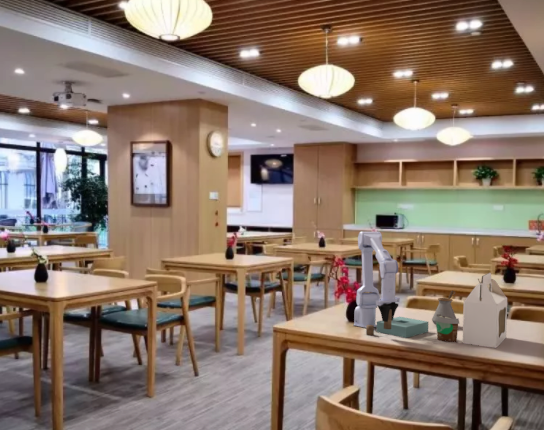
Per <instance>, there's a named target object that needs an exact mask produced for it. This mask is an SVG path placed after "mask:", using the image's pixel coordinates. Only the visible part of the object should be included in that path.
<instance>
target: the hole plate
mask: <svg viewBox="0 0 544 430" xmlns="http://www.w3.org/2000/svg"><path fill="white" fill-rule="evenodd" d="M376 325H377V327H376V332H377V333H381V334H385V335H390V336H395V337H401V338H405V339H407V338H410V337H414V336H418V335H422V334H425V333H428V332H429V321H426V320H421V319H416V318H409V317H404V316H396V317H393V320H392V323H391V329H384V321H383V320H382V319H381V320H378V321H376Z"/></svg>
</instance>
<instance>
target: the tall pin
mask: <svg viewBox="0 0 544 430" xmlns="http://www.w3.org/2000/svg"><path fill="white" fill-rule="evenodd" d="M391 323H392V310H391V309H390V310H389V316H388V322H385V321H384V329H391Z"/></svg>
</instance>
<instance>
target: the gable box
mask: <svg viewBox="0 0 544 430" xmlns="http://www.w3.org/2000/svg"><path fill="white" fill-rule="evenodd" d="M477 280H478V282H479V283H478V284H476V285H475V286H474V288H472V290H471V291H470V293H469V294H468V295H467V297H466V298H465V300H463V315H462V316H463V317H462V319H463V321H462V323H463V324H462V344H465V345H471V344H472V345H471V346H478V345H479V346H480V347H486V348H487V347H488V348H494V349H497V348H498V347H499V345H501V344H502V343H503V341H504V340H505V339H506V338H507V325H508V324H507V323H508V321H507V320H508V319H507V318H508V316H507V315H508V297H507V296H506V294H505V293H504V291H503V290H502V288H501V287H500V285H499V283H497V281H496V280H495V279H493V278H492V273H491V272H488V273H485V274H484V275H482V276H481V277H479V278H477Z"/></svg>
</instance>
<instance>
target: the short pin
mask: <svg viewBox="0 0 544 430" xmlns="http://www.w3.org/2000/svg"><path fill="white" fill-rule="evenodd" d="M365 331H366V332H365V334H366V336H370V337H371V336H372V337H373V336H374V335H375V332H374V331H375V327H374V325H366V329H365Z"/></svg>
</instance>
